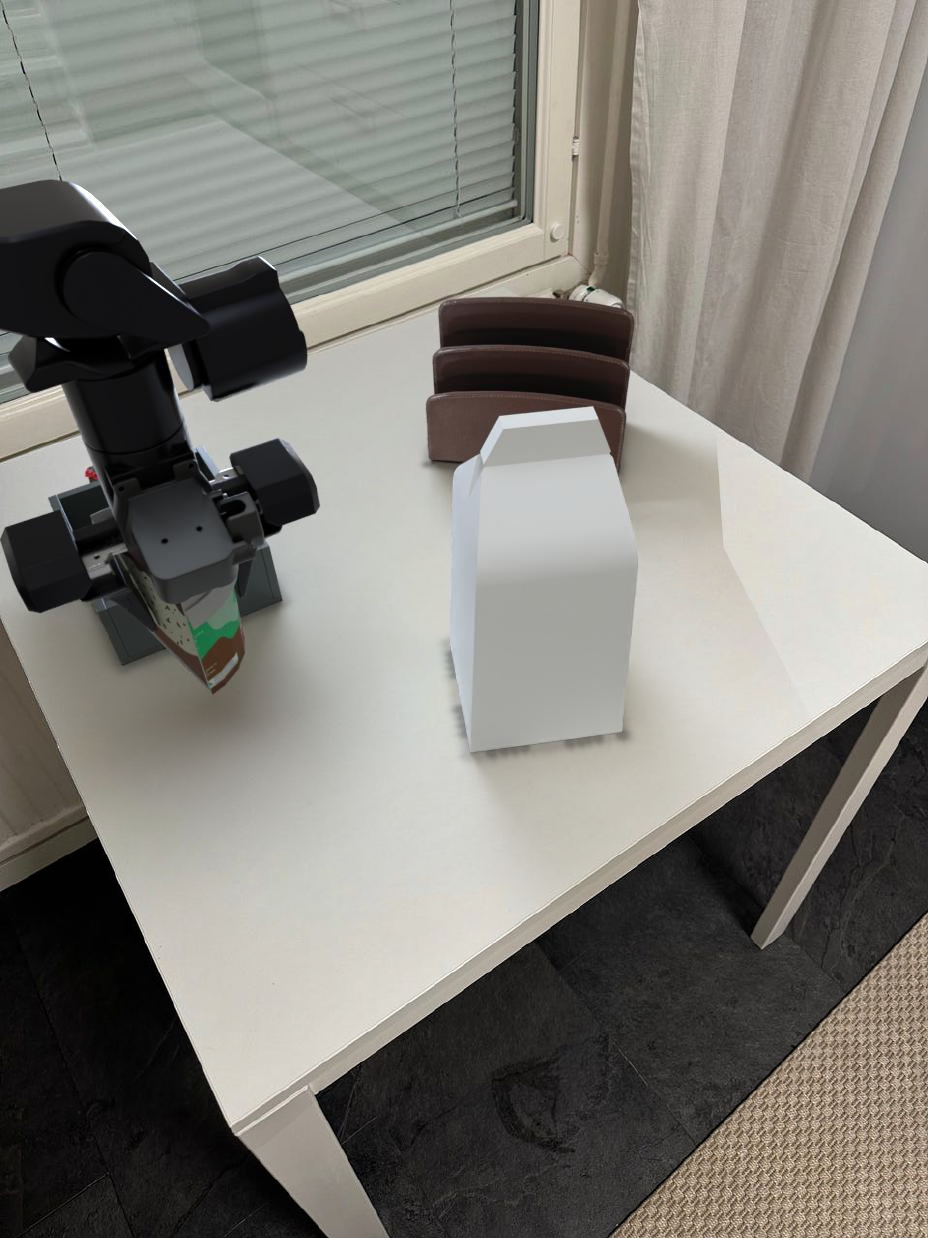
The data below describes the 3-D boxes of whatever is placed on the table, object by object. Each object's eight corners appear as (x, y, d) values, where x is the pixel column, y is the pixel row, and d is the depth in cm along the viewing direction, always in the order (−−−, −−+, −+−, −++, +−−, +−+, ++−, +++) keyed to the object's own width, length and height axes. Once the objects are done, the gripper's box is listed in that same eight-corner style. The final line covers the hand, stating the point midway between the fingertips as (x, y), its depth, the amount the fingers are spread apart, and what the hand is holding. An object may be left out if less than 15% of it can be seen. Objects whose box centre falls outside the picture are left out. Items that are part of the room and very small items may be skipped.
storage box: (122, 665, 75) (96, 612, 70) (72, 550, 85) (47, 497, 80) (282, 600, 80) (269, 545, 75) (218, 498, 90) (203, 444, 85)
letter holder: (443, 407, 100) (438, 287, 89) (621, 419, 97) (638, 298, 87) (427, 461, 93) (420, 339, 83) (619, 476, 91) (636, 353, 80)
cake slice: (297, 657, 63) (270, 555, 56) (224, 707, 60) (185, 607, 53) (202, 572, 69) (166, 469, 62) (132, 613, 66) (85, 511, 59)
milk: (470, 752, 69) (464, 488, 49) (449, 641, 76) (437, 375, 57) (621, 732, 70) (674, 465, 50) (586, 624, 77) (620, 357, 58)
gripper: (-13, 566, 43) (91, 749, 55) (339, 446, 49) (366, 634, 61) (-48, 446, 50) (52, 632, 61) (266, 354, 56) (303, 539, 67)
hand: (197, 610), depth 62 cm, fingers closed on cake slice, 6 cm apart
